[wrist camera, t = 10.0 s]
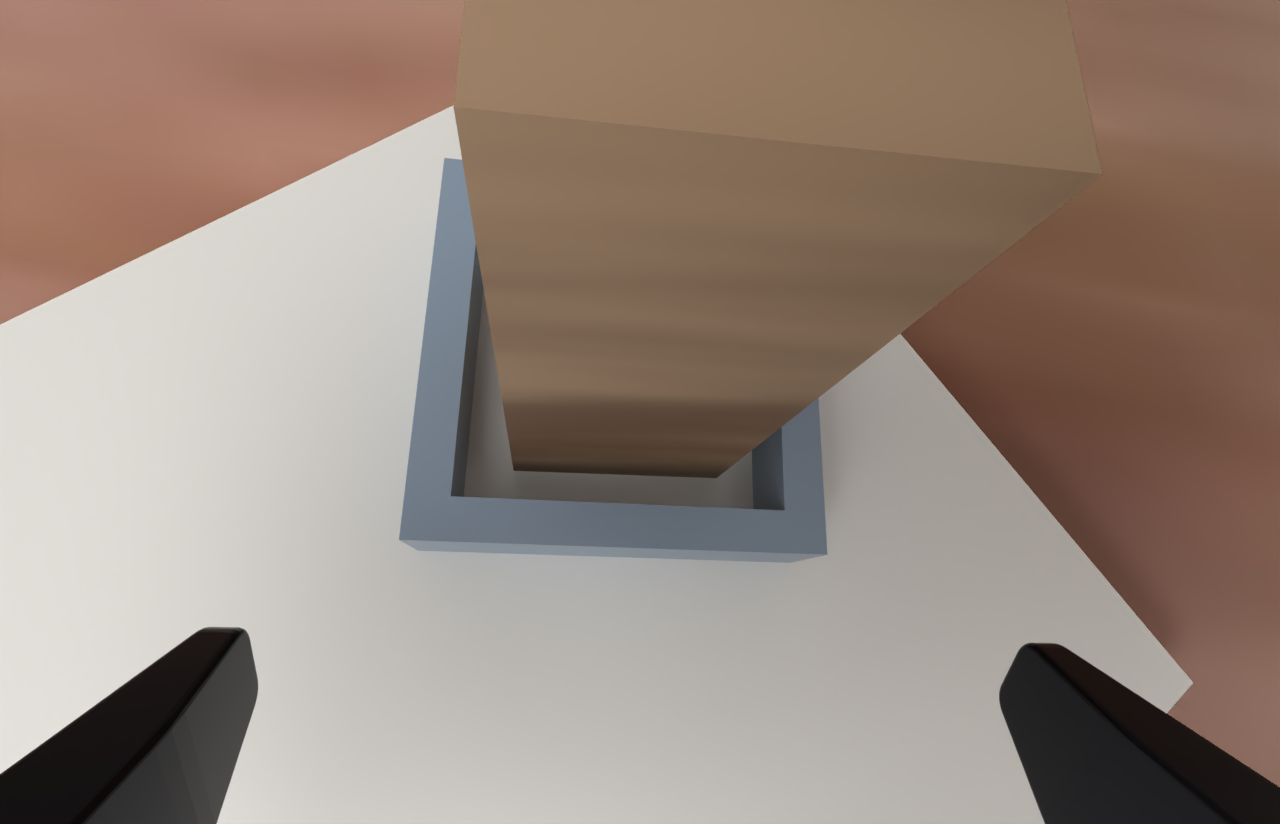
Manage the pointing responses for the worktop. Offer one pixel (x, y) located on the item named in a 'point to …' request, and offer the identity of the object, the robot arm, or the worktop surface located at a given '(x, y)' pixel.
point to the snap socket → (454, 523)
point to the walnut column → (741, 201)
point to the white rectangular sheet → (500, 560)
